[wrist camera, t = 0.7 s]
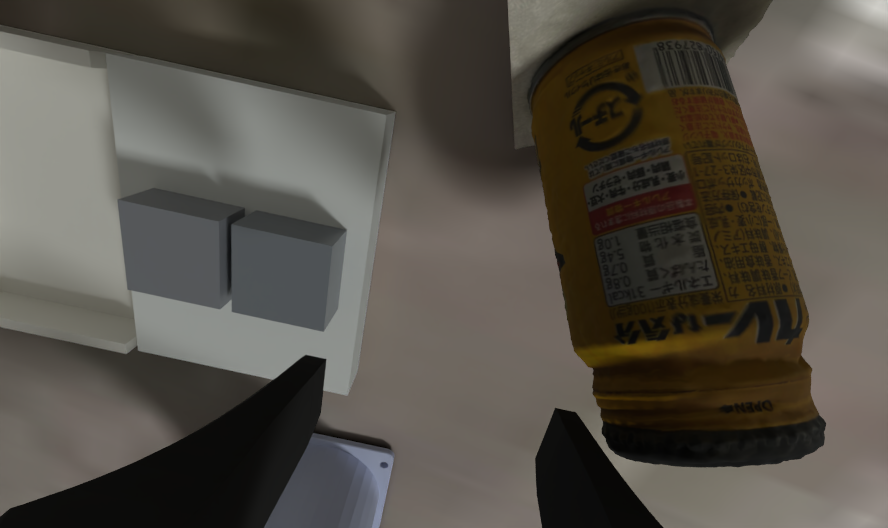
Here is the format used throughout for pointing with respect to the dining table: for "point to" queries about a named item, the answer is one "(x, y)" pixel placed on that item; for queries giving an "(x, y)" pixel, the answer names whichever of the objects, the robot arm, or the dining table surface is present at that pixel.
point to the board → (253, 198)
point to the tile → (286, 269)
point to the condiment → (664, 228)
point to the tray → (60, 194)
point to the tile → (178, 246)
